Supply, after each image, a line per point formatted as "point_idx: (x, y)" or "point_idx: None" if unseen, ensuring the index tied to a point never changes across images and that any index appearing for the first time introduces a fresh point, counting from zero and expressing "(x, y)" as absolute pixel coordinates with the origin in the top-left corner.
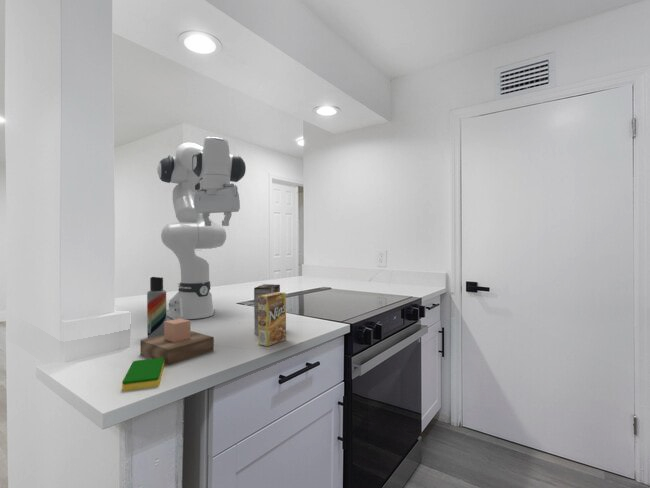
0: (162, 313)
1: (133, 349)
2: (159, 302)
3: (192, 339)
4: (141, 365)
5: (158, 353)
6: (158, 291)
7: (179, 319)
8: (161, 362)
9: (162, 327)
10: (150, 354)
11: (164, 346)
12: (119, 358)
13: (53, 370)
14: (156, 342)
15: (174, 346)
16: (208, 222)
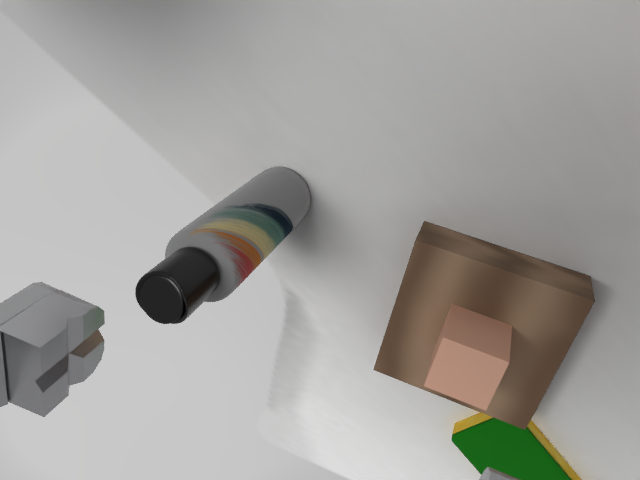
0: (276, 237)
1: (328, 314)
2: (253, 267)
3: (531, 339)
4: (499, 464)
5: None
6: (221, 284)
7: (453, 353)
8: (535, 444)
9: (297, 215)
10: None
11: (492, 408)
12: (358, 376)
13: (298, 448)
14: None
15: (523, 406)
16: (60, 377)
